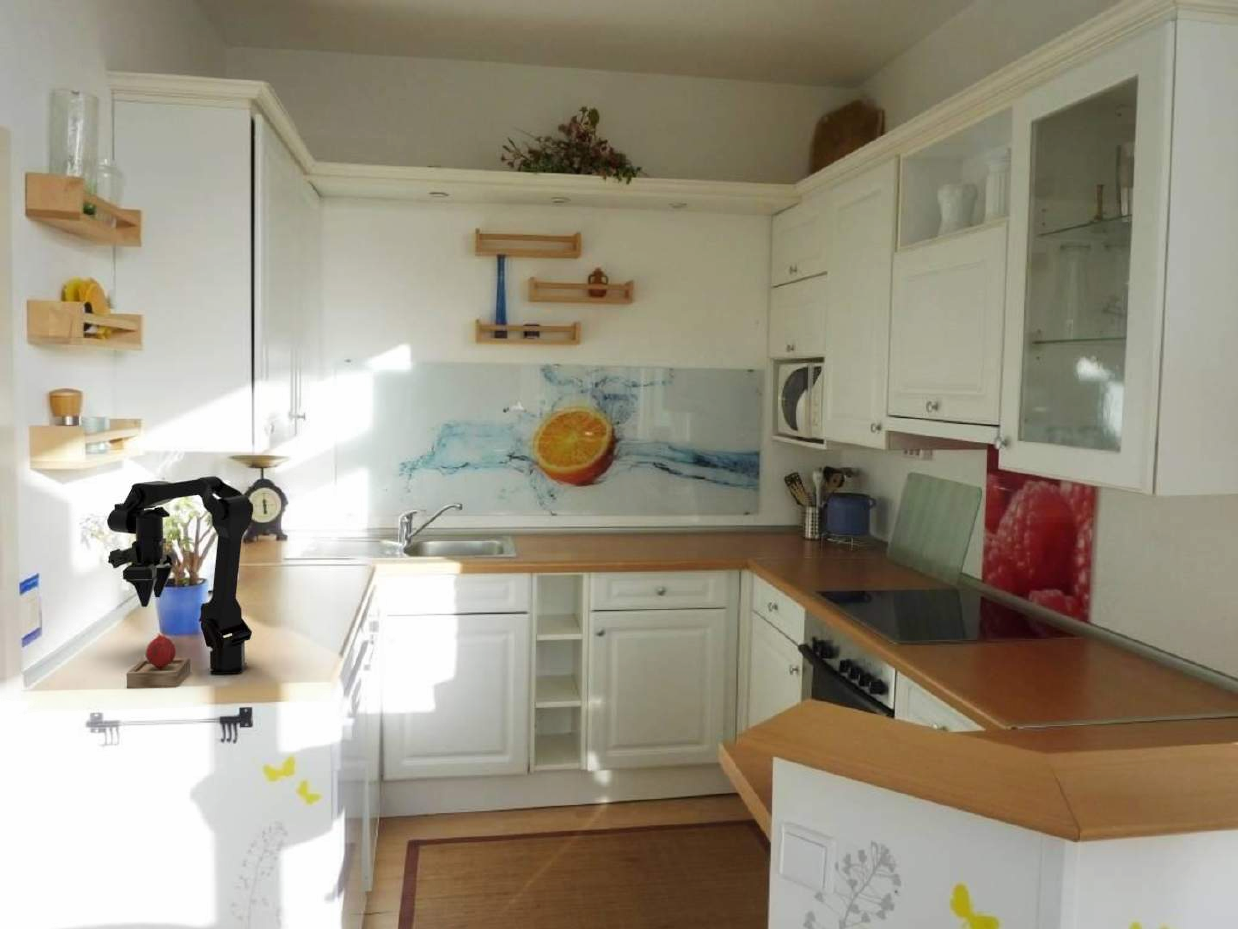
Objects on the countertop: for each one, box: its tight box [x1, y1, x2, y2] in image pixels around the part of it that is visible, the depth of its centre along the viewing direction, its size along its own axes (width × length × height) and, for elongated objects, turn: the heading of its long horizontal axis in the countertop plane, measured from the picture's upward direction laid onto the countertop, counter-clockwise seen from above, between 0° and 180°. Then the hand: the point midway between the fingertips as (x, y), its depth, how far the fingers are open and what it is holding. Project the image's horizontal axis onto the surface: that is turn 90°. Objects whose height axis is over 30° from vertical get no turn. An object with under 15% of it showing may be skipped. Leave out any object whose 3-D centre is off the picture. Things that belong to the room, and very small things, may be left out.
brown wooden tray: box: [126, 658, 191, 689], centre depth 213 cm, size 10×10×3 cm
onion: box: [145, 632, 177, 669], centre depth 213 cm, size 6×6×8 cm
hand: (151, 601), depth 229 cm, fingers open, 9 cm apart
